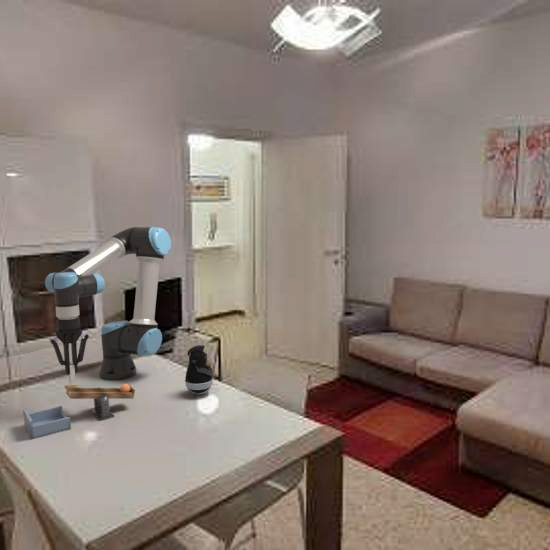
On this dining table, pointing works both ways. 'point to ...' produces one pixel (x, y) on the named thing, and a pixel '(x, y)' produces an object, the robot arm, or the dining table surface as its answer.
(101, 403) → the stand
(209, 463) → the dining table surface
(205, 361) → the toy
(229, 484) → the dining table surface
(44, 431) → the tray
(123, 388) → the ball
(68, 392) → the lever
